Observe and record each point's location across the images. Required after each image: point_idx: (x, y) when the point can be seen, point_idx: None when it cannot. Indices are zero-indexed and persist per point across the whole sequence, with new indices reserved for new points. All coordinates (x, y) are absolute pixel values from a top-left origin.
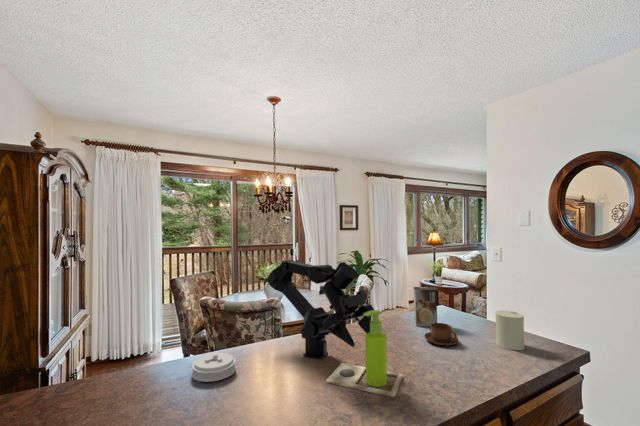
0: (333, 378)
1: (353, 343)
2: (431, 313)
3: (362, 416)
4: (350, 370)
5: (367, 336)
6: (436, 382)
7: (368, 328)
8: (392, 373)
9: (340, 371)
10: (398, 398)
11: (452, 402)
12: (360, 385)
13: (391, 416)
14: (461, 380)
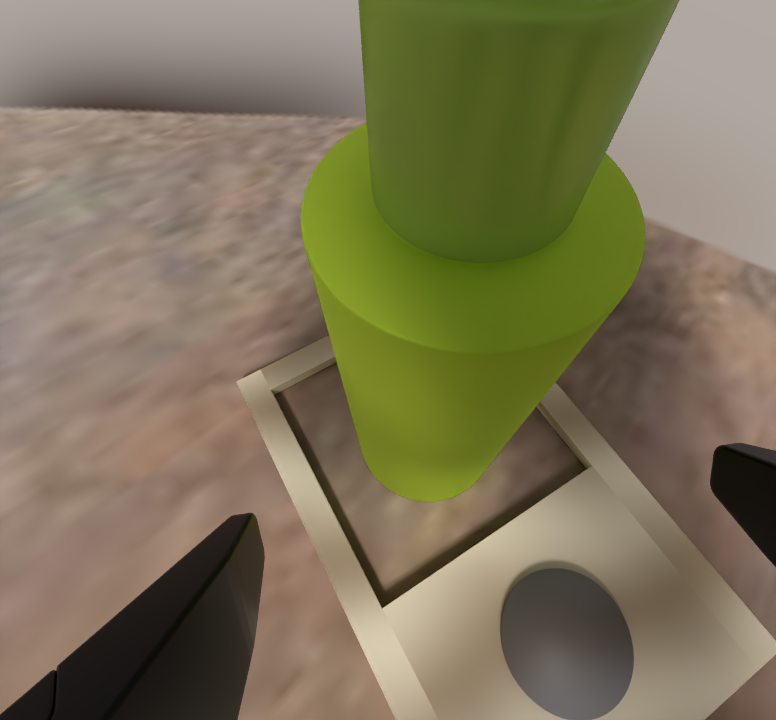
0: (712, 635)
1: (761, 448)
2: None
3: (684, 255)
4: (519, 652)
5: (637, 226)
6: (175, 257)
7: (180, 700)
8: (278, 424)
9: (612, 698)
10: None
11: (289, 153)
12: (567, 429)
13: None
14: (74, 213)
